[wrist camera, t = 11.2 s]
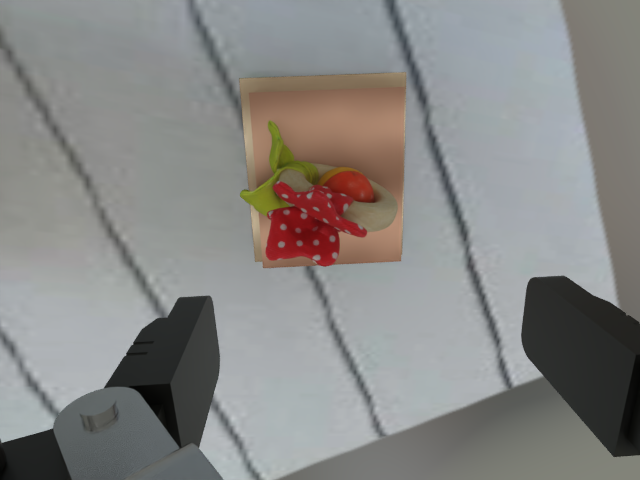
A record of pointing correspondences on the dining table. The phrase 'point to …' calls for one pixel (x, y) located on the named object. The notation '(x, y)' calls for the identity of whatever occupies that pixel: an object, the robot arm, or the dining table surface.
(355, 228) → the bird rattle
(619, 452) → the robot arm
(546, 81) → the dining table surface
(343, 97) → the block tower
